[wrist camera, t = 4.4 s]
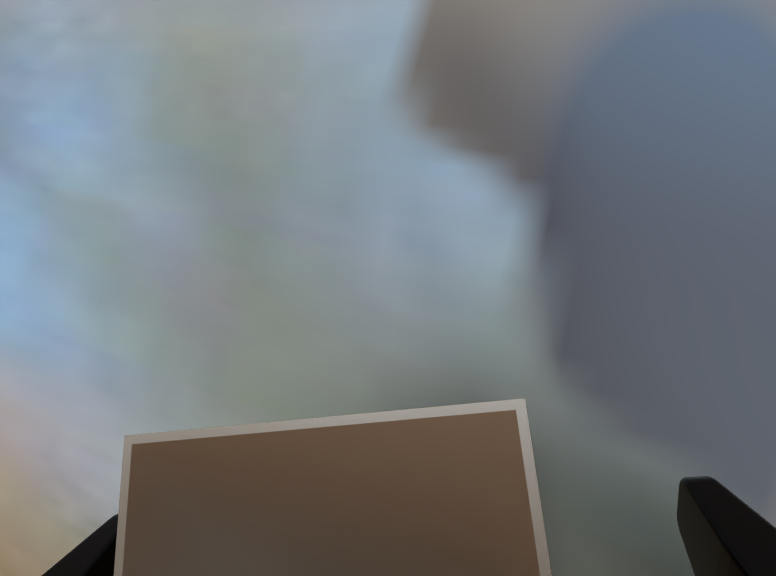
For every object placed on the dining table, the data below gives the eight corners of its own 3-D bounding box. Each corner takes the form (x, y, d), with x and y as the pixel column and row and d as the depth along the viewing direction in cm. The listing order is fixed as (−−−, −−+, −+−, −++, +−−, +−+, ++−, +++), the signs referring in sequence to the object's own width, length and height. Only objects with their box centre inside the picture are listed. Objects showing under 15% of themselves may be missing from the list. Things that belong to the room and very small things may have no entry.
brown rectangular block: (531, 599, 14) (619, 1018, 4) (373, 603, 15) (82, 962, 4) (508, 431, 15) (524, 398, 5) (363, 443, 16) (124, 435, 6)
